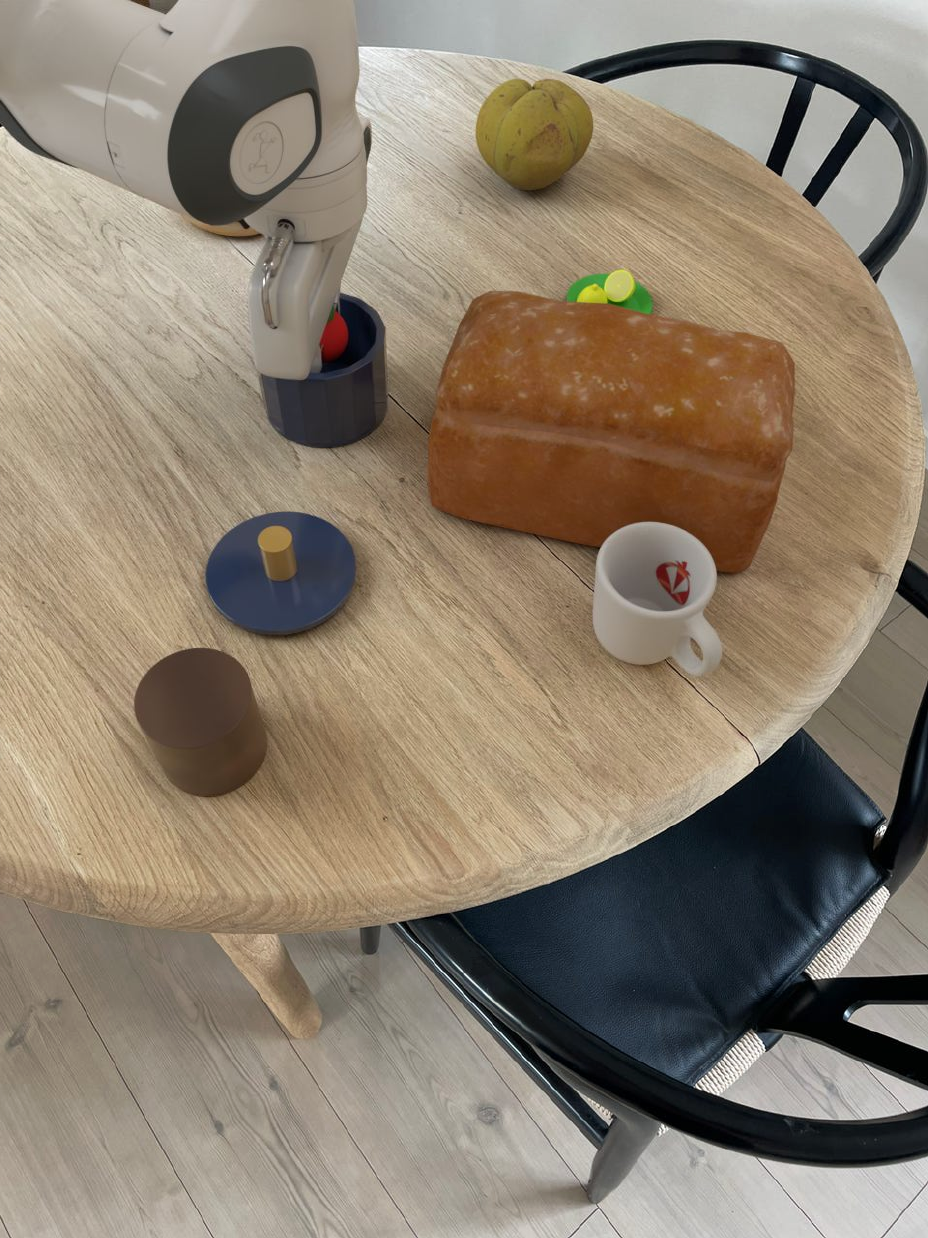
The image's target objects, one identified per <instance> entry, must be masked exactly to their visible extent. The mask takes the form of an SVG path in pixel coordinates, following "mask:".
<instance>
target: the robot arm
mask: <svg viewBox="0 0 928 1238" xmlns="http://www.w3.org/2000/svg"><path fill="white" fill-rule="evenodd" d="M359 51H360V49H359V37H358V26H357V17H356V7H355V0H177V2H176V3H175V4H174V6H172V8H171V9H170V10H169V11H168V12H167V13H166V14H165V13H163V12H160V11H159V10H156V9H152V8H150V7H147V6H144V5H142V4H140V3H137V2H134V1H132V0H0V124H1V125H2V127H3V129H5V131H6V132H7V133H8V134H9V135H10V137H12V138H13V139H14V140H15V141H16V142H17V143H19V144H20V145H21V146H22V147H23V148H25V149H27V150H28V151H30V152H32V153H33V154H35V155H37V156H40V157H43V158H44V159H45V158H46V159H48V160H51V161H53V162H57V163H60V164H63V165H65V166H69V167H70V168H71V167H72V168H75V169H79V170H81V171H83V172H86V173H88V174H90V175H92V176H95V177H97V178H98V179H101V180H103V181H105V182H107V183H109V184H112V185H114V186H116V187H118V188H121V189H123V190H125V191H127V192H129V193H132V194H133V195H136V196H138V197H140V198H142V199H145V200H148V201H150V202H152V203H154V204H157V205H159V206H161V207H163V208H165V209H168V210H170V211H171V212H175V213H176V214H179V215H181V216H182V215H184V216H186V217H189V218H191V219H194V220H197V221H200V222H202V223H205V224H209V225H219V226H220V225H227V224H231V223H234V222H237V221H239V220H241V219H244V220H245V221H246V223H247V224H248V225H249V226H250V227H252V228H253V229H254V230H256V231H257V232H259V234H260V235H263V237H264V238H265V241H264V243H263V246H262V248H261V250H260V252H259V255H258V257H257V259H256V262H255V263H254V266H253V268H252V271H251V274H250V277H249V281H248V288H247V315H248V324H249V332H250V342H251V349H252V356H253V361H254V366H255V369H256V371H257V370H258V371H259V372H260V373H262V374H263V375H265V376H269V377H274V378H281V379H290V380H304V379H306V378H307V377H308V375H309V373H319V372H320V371H321V368H322V366H323V362H324V359H325V356H324V347H323V344H319V343H320V341H321V338H322V335H323V332H324V329H325V326H326V323H327V321H328V318H329V315H330V312H331V309H332V306H334V310H335V311H336V312H338V313H339V314H340V303H339V297H340V292H341V287H342V280H343V277H344V275H345V272H346V269H347V266H348V263H349V261H350V258H351V255H352V252H353V249H354V246H355V244H356V243H355V242H356V240H357V237H358V234H359V232H360V229H361V227H362V223H363V219H364V215H365V214H366V211H367V209H368V189H367V188H368V185H367V184H368V163H369V162H368V161H369V157H370V153H371V149H372V145H373V129H372V122H371V120H370V119H369V118H367V117H361V116H359V114H358V110H357V104H356V95H357V90H358V85H359V83H360V82H359V81H360V74H361V73H360V71H361V69H360V52H359Z"/></svg>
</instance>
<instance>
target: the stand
mask: <svg viewBox="0 0 928 1238" xmlns="http://www.w3.org/2000/svg"><path fill="white" fill-rule="evenodd" d="M133 711H134V717H135V719H136V722H137V724H138V726H139V728H140V729H141V732H142V733H143V735H144V737H145V739H146V741H147V743H148V745H149V746H150V749H151V750H152V752H153V754H154V756H155V759H157V761H158V763H159V765H160V767H161V769H162V771H163V773H164V775H165V777H166V778H167V779H168V780H169V782H170V783H171V784H172V785H173V786H175V788H177V789H179V790H180V791H182V792H184V793H186V794H189V795H192V796H196V797H205V798H206V797H217V796H222V795H225V794H229V793H231V792H234V791H236V790H237V789H239V788H241V787H243V786H244V785H246V784H247V783H249V781H250V780H251V779H252V778H253V777H254V776H255V775H256V774H257V773H258V771H259V770H260V768H261V767H262V764H263V763H264V760H265V757H266V755H267V750H268V737H267V732H266V728H265V724H264V722H263V718H262V715H261V711H260V709H259V705H258V702H257V699H256V696H255V692H254V688H253V685H252V682H251V679H250V676H249V673H248V672H247V670H246V669H245V667H244V666H243V665H242V663H241V662H240V661H239V660H237V658H235V657H234V656H232V655H231V654H228V653H227V652H224V651H223V650H219V649H215V648H210V647H191V648H186V649H181V650H178V651H176V652H173V653H171V654H168V655H167V656H164V657H163V658H161V659H160V660H158V661H157V662H156V663H155V664H153V665H152V666H151V667H150V668H149V669H148V670H147V672H146V673H144V676H143V677H142V678H141V680H140V681H139V684H138V685H137V688H136V691H135V694H134V700H133Z"/></svg>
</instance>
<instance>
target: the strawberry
mask: <svg viewBox="0 0 928 1238" xmlns="http://www.w3.org/2000/svg"><path fill="white" fill-rule="evenodd" d="M347 342H348V329H347V326H346V323H345V321H344V319H343V318H342V317H341V315H340V314H339V313H338V312H336V311H335V310H334V306H332V309H331V312H330V315H329V318H328V321H327V323H326V326H325V329H324V332H323V335H322V338H321V341H320V343H319V344H323V347H324V356H325V359H324V362H323V363H328V362H331V361H333V360H335V359H337V358H338V357H339V356H340V355H341V354H342V353H343V351H344V350H345V348H346V345H347Z"/></svg>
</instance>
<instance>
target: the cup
mask: <svg viewBox="0 0 928 1238" xmlns="http://www.w3.org/2000/svg"><path fill="white" fill-rule="evenodd" d="M599 548H600V549H599V551H598V553H597V556H596V557H597V558H596V562H595V575H594V587H593V588H594V590H593V603H592V625H593V630H594V633H595V636H596V639H597V640H598V642H599V643H600V645H601V646H602V647H603V649H604V650H606V652H607V653H608V654H610V655H611V656H613V657H614V658H616V659H618V660H619V661H621V662H624V663H627V664H632V665H638V666H647V665H653V664H657V663H659V662H663V661H665V660H666V659H668V658H672V659H673V660H674V661H675V662H676V663H677V664H678V666H679V667H680V668H681V669H682V670H683V671H684V672H686V673H687V674H688V675H690V676H691V677H695V678H701V677H705V676H707V675H710V673H712V672H713V671H715V669H716V668H718V666H719V664H720V663H721V661H722V659H723V644H722V641H721V638H720V636H719V635H718V633H717V632H716V630H715V629H714V628H713V626H712V625H711V623H710V622H709V621H708V620H707V619H706V617H705V616H704V610H705V609H706V608H707V605H708V604H709V602H710V601H711V599H712V597H713V595H714V593H715V590H716V588H717V580H718V573H717V572H718V571H716V567H715V563H714V560H713V558H712V556H711V554H710V553H709V551H708V550H707V548H706V547H705V546H704V545H703V544H702V543H701V542H700V541H699V540H698V539H697V538H696V537H694V536H693V535H691V534H690V533H688V532H686V531H685V530H683V529H680V528H678V527H676V526H673V525H669V524H665V523H659V522H640V523H634V524H631V525H628V526H625V527H622V528H621V529H619V530H617V531H616V532H614V533H613V534H612V535H610V536H609V537H608V538H607V539H606V541H605V542H604V543H603V545H602V547H599ZM691 639H693V640H694V641H695V642H696V644H697V645H698V646H699V648H700V650H701V653H702V660H701V659H700V658H699V657H698V656H697V655H696V653H695V652H694V650H693V649H692V645H691Z"/></svg>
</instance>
